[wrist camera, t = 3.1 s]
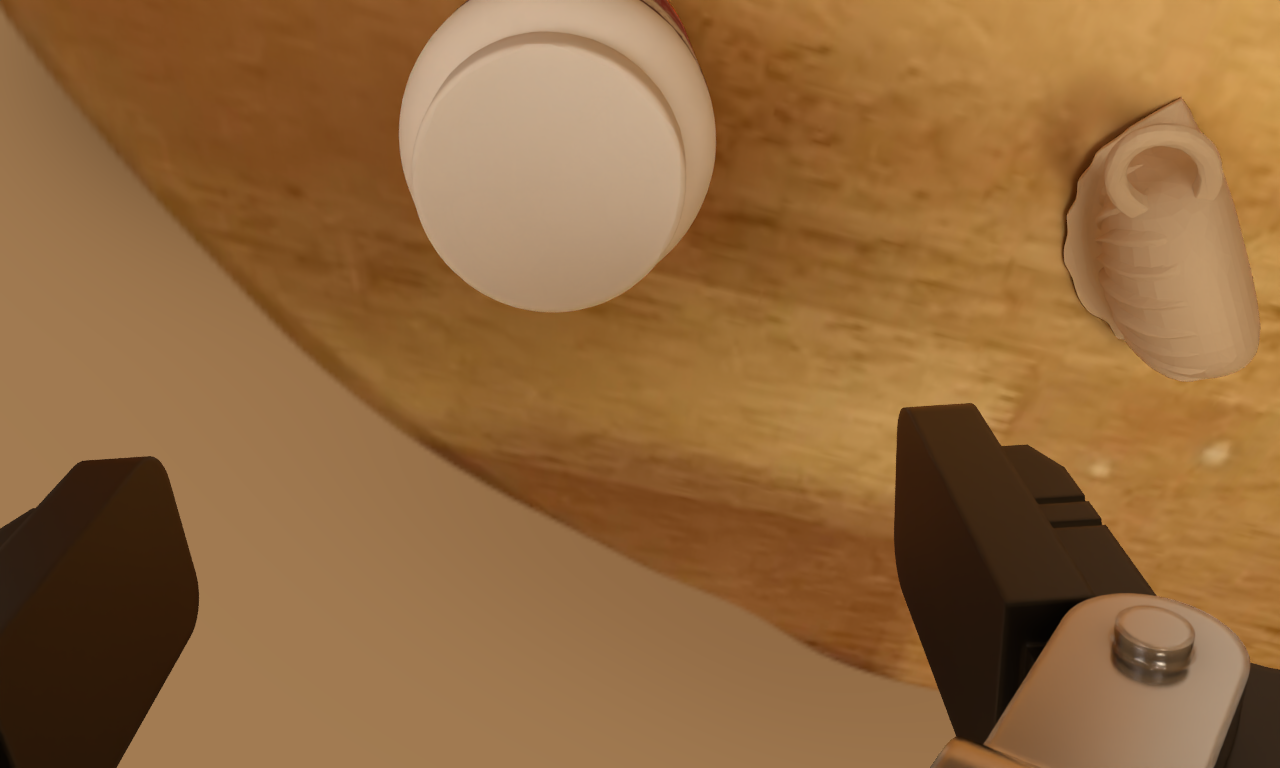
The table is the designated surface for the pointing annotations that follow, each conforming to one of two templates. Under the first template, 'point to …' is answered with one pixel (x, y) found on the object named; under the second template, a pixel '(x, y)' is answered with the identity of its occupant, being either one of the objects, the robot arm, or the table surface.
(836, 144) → the table surface
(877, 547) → the table surface
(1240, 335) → the decorative ornament
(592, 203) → the pill bottle
